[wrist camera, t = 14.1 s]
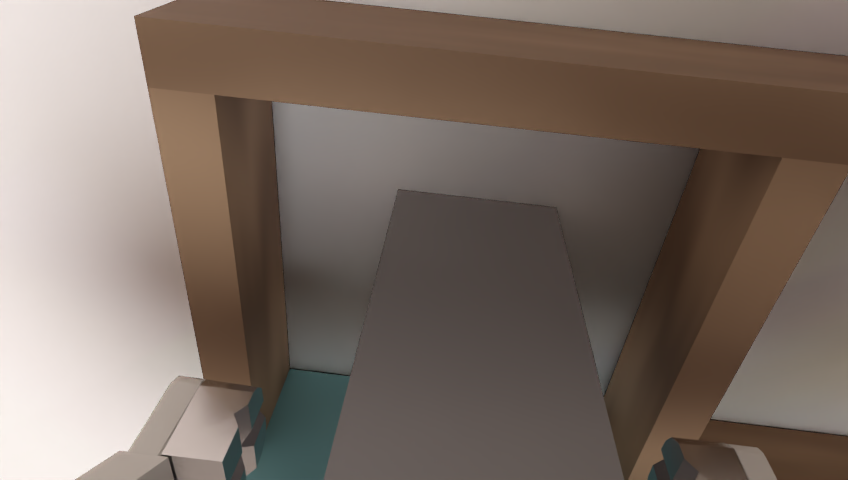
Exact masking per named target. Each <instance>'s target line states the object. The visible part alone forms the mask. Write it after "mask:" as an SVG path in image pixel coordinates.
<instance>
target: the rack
mask: <svg viewBox="0 0 848 480" xmlns="http://www.w3.org/2000/svg"><path fill="white" fill-rule="evenodd" d="M134 18H135V24H136V29H137V34H138V39H139V44H140V50H141V55H142V60H143V65H144V71H145V76H146V81H147V86H148V91H149V97H150V102H151V107H152V112H153V117H154V123H155V128H156V133H157V138H158V143H159V149H160V154H161V159H162V164H163V169H164V175H165V180H166V185H167V190H168V196H169V201H170V206H171V211H172V216H173V222H174V227H175V232H176V237H177V242H178V248H179V253H180V258H181V263H182V268H183V274H184V279H185V284H186V289H187V295H188V300H189V305H190V310H191V315H192V321H193V326H194V331H195V336H196V341H197V347H198V352H199V357H200V362H201V367H202V373H203V378H204V379H207V380H214V381H220V382H227V383H234V384H240V385H247V386H254V387H259V388H262V393H263V399H264V401H263V403H262V406H261V408H260V412H261V413H262V414H263V415H264V416H265V417H266V437H265V442H264V446H263V451H262V454H261V457H260V460H259V463H258V465H257V468H256V469H255V470H253V471H252V472H251V473H250V474H248V475H247V476H246V479H247V480H324V476H325V472H326V468H327V464H328V460H329V456H330V452H331V449H332V445H333V441H334V437H335V433H336V429H337V425H338V421H339V418H340V414H341V410H342V406H343V402H344V398H345V394H346V390H347V386H348V383H349V379H350V376H344V375H336V374H327V373H319V372H311V371H303V370H294V369H290V364H289V350H288V335H287V320H286V306H285V291H284V277H283V262H282V247H281V233H280V218H279V204H278V189H277V174H276V160H275V145H274V131H273V116H272V101H274V102H283V103H292V104H301V105H310V106H319V107H328V108H337V109H347V110H356V111H365V112H374V113H383V114H392V115H401V116H410V117H419V118H428V119H437V120H446V121H455V122H464V123H473V124H482V125H491V126H500V127H509V128H518V129H527V130H536V131H545V132H554V133H563V134H572V135H581V136H590V137H599V138H608V139H617V140H626V141H635V142H644V143H654V144H663V145H672V146H681V147H690V148H699V149H700V151H699V153H698V156H697V158H696V161H695V164H694V166H693V169H692V171H691V174H690V176H689V179H688V182H687V184H686V187H685V189H684V192H683V195H682V197H681V200H680V202H679V205H678V207H677V210H676V213H675V215H674V218H673V220H672V223H671V226H670V228H669V231H668V233H667V236H666V238H665V241H664V244H663V246H662V249H661V251H660V254H659V256H658V259H657V262H656V264H655V267H654V269H653V272H652V275H651V277H650V280H649V282H648V285H647V287H646V290H645V293H644V295H643V298H642V300H641V303H640V306H639V308H638V311H637V313H636V316H635V318H634V321H633V324H632V326H631V329H630V331H629V334H628V337H627V339H626V342H625V344H624V347H623V349H622V352H621V355H620V357H619V360H618V362H617V365H616V368H615V370H614V373H613V375H612V378H611V380H610V383H609V386H608V388H607V391H606V393H605V396H604V401H605V405H606V409H607V413H608V417H609V421H610V425H611V429H612V433H613V437H614V441H615V445H616V449H617V453H618V457H619V461H620V465H621V469H622V473H623V477H624V480H648V475H649V473H650V471H651V468H652V466H653V465H654V464H656V463H657V462H659V461H661V460H663V459H664V458H663V455H662V452H661V448H662V446H663V445H664V443H665V441H666V440H667V439H669V438H671V437H675V438H684V439H693V440H702V441H711V442H720V443H725V444H732V445H741V446H749V447H757V448H759V449H760V450H761V451H762V452H763V453H764V455H765V457H766V459H767V461H768V463H769V465H770V466H771V468H772V470H773V472H774V474H775V476H776V478H777V480H848V437H846V436H838V435H830V434H822V433H813V432H805V431H797V430H789V429H781V428H772V427H764V426H756V425H748V424H739V423H731V422H723V421H715V420H710V419H711V417H712V415H713V413H714V412H715V410H716V408H717V406H718V404H719V403H720V401H721V399H722V397H723V396H724V394H725V392H726V390H727V388H728V387H729V385H730V383H731V381H732V379H733V378H734V376H735V374H736V372H737V371H738V369H739V367H740V365H741V363H742V362H743V360H744V358H745V356H746V355H747V353H748V351H749V349H750V347H751V346H752V344H753V342H754V340H755V338H756V337H757V335H758V333H759V331H760V330H761V328H762V326H763V324H764V322H765V321H766V319H767V317H768V315H769V313H770V312H771V310H772V308H773V306H774V305H775V303H776V301H777V299H778V297H779V296H780V294H781V292H782V290H783V288H784V287H785V285H786V283H787V281H788V280H789V278H790V276H791V274H792V272H793V271H794V269H795V267H796V265H797V264H798V262H799V260H800V258H801V256H802V255H803V253H804V251H805V249H806V247H807V246H808V244H809V242H810V240H811V239H812V237H813V235H814V233H815V231H816V230H817V228H818V226H819V224H820V222H821V221H822V219H823V217H824V215H825V214H826V212H827V210H828V208H829V206H830V205H831V203H832V201H833V199H834V197H835V196H836V194H837V192H838V190H839V189H840V187H841V185H842V183H843V181H844V180H845V178H846V176H847V174H848V56H841V55H831V54H822V53H813V52H803V51H794V50H785V49H775V48H766V47H756V46H747V45H738V44H728V43H719V42H709V41H700V40H691V39H681V38H672V37H662V36H653V35H644V34H634V33H625V32H615V31H606V30H597V29H587V28H578V27H569V26H559V25H550V24H540V23H531V22H522V21H512V20H503V19H493V18H484V17H475V16H465V15H456V14H446V13H437V12H428V11H418V10H409V9H399V8H390V7H381V6H371V5H362V4H353V3H343V2H334V1H324V0H176V1H173V2H170V3H168V4H165V5H162V6H160V7H157V8H154V9H152V10H149V11H146V12H144V13H141V14H139V15H136V16H134Z"/></svg>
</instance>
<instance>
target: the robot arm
mask: <svg viewBox="0 0 848 480" xmlns="http://www.w3.org/2000/svg"><path fill="white" fill-rule="evenodd" d="M263 401H264V399H263V393H262V388H259V387H254V386H247V385H240V384H234V383H227V382H220V381H214V380H207V379H199V378H192V377H184V376H178V377H177V378H176V379H175V380H174V381H172V382H171V383H170V385H169V387H168V388H167V390H166V391H165V393H164V395H163V396H162V398H161V399H160V401H159V403H158V404H157V406H156V407H155V409H154V411H153V412H152V414H151V416H150V417H149V419H148V420H147V422H146V424H145V425H144V427H143V428H142V430H141V432H140V433H139V435H138V436H137V438H136V440H135V441H134V443H133V444H132V446H131V448H130V449H129V451H128V452H127V451H118V452H117V453H115V454H114V455H112V456H111V457H109V458H108V459H106V460H105V461H103V462H102V463H100V464H98V465H97V466H95V467H94V468H92V469H91V470H89V471H88V472H86V473H85V474H83V475H81V476H80V477H78V478H77V479H75V480H247V479H246V476H247V475H248V474H250V473H251V472H252V471H253V470H255V469H256V468H257V465H258V463H259V460H260V457H261V454H262V451H263V446H264V442H265V437H266V417H265V416H264V415H263V414H262V413H261V412H260V408H261V406H262V403H263ZM661 452H662V455H663V458H664V459H663V460H661V461H659V462H657V463H656V464H654V465H653V466H652V468H651V471H650V473H649V475H648V480H777V478H776V476H775V474H774V472H773V470H772V468H771V466H770V465H769V463H768V461H767V459H766V457H765V455H764V453H763V452H762V451H761V450H760V449H759V448H757V447H749V446H741V445H732V444H725V443H720V442H711V441H702V440H693V439H684V438H675V437H671V438H669V439H667V440H666V441H665V443H664V445H663V446H662V448H661Z"/></svg>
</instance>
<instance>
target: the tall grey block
mask: <svg viewBox="0 0 848 480" xmlns="http://www.w3.org/2000/svg"><path fill="white" fill-rule="evenodd" d="M324 480H624V477H623V473H622V469H621V465H620V461H619V457H618V453H617V449H616V445H615V441H614V437H613V433H612V429H611V425H610V421H609V417H608V413H607V409H606V405H605V401H604V397H603V393H602V389H601V385H600V381H599V377H598V373H597V369H596V365H595V361H594V357H593V353H592V349H591V345H590V341H589V337H588V333H587V329H586V325H585V321H584V317H583V313H582V309H581V305H580V301H579V297H578V293H577V289H576V285H575V281H574V277H573V273H572V269H571V265H570V261H569V257H568V253H567V249H566V245H565V241H564V237H563V233H562V229H561V225H560V221H559V217H558V213H557V209H556V207H548V206H539V205H530V204H521V203H512V202H504V201H495V200H486V199H477V198H468V197H460V196H451V195H442V194H433V193H424V192H416V191H407V190H398V192H397V196H396V200H395V204H394V208H393V212H392V216H391V219H390V223H389V227H388V231H387V235H386V239H385V243H384V247H383V251H382V254H381V258H380V262H379V266H378V270H377V274H376V278H375V282H374V285H373V289H372V293H371V297H370V301H369V305H368V309H367V313H366V317H365V320H364V324H363V328H362V332H361V336H360V340H359V344H358V348H357V352H356V355H355V359H354V363H353V367H352V371H351V375H350V379H349V383H348V386H347V390H346V394H345V398H344V402H343V406H342V410H341V414H340V418H339V421H338V425H337V429H336V433H335V437H334V441H333V445H332V449H331V452H330V456H329V460H328V464H327V468H326V472H325V476H324Z"/></svg>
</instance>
